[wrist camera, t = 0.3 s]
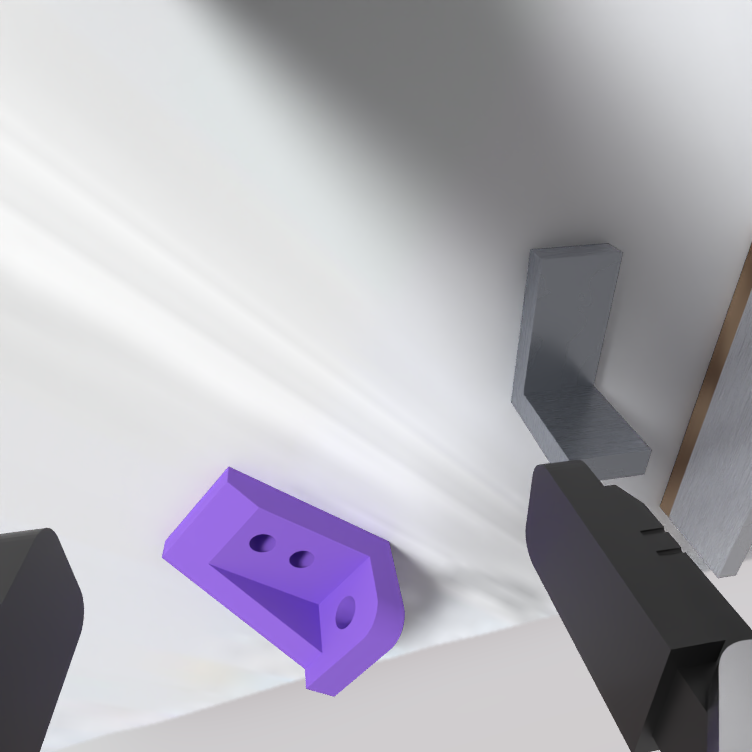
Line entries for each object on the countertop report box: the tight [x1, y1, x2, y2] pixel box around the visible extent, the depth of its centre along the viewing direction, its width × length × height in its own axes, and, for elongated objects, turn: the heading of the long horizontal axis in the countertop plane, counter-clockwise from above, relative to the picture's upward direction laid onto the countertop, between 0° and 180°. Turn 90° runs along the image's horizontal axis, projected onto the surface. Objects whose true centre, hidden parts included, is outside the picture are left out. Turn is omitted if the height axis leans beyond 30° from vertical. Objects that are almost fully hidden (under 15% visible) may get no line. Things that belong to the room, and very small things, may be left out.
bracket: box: [162, 467, 405, 696], centre depth 32 cm, size 12×7×7 cm, turn 50°
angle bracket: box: [511, 243, 652, 480], centre depth 26 cm, size 9×4×7 cm, turn 2°
